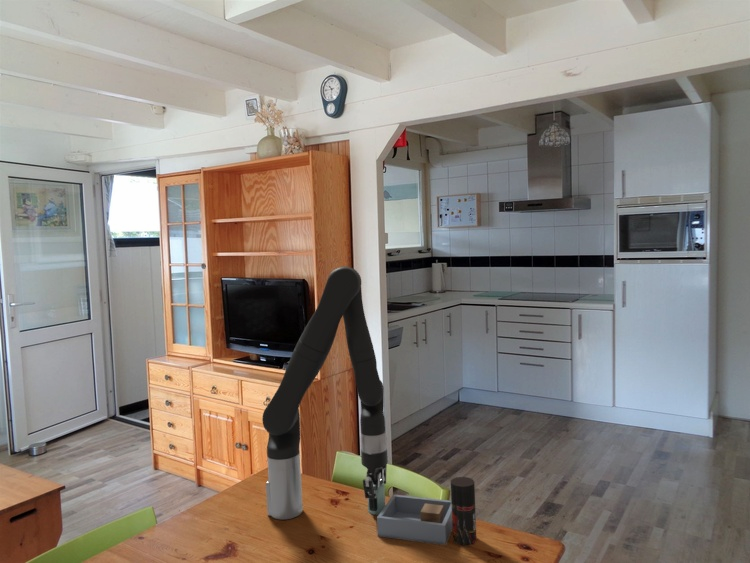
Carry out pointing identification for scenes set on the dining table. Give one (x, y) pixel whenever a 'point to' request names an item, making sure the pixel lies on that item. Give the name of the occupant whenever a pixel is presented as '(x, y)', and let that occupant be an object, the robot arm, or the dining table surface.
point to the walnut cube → (432, 513)
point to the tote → (413, 520)
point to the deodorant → (463, 511)
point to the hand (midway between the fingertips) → (376, 505)
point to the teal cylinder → (379, 500)
